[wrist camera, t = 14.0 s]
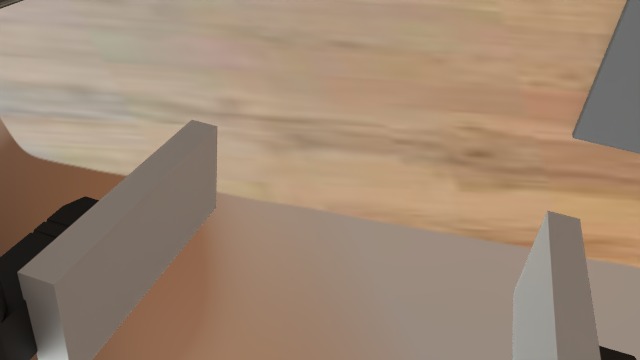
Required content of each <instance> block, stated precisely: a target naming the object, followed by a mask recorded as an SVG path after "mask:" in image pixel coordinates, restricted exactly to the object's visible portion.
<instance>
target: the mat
mask: <svg viewBox="0 0 640 360" xmlns="http://www.w3.org/2000/svg"><path fill="white" fill-rule="evenodd" d="M572 135H573V138H575V139H579V140H584V141H588V142H592V143H597V144H601V145H605V146H609V147H614V148H618V149H622V150H627V151H631V152H635V153H640V0H627V2H626V4H625V7H624V9H623V11H622V14H621V16H620V19H619V21H618V24H617V26H616V29H615V31H614V33H613V36H612V38H611V41H610V43H609V46H608V48H607V50H606V53H605V55H604V58H603V60H602V63H601V65H600V68H599V70H598V72H597V75H596V77H595V80H594V82H593V85H592V87H591V90H590V92H589V94H588V97H587V99H586V102H585V104H584V107H583V109H582V112H581V114H580V116H579V119H578V121H577V124H576V126H575V129H574V131H573V134H572Z"/></svg>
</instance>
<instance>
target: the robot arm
mask: <svg viewBox="0 0 640 360" xmlns="http://www.w3.org/2000/svg"><path fill="white" fill-rule="evenodd" d="M20 1H23V0H0V9H1V8H3V7H6V6H9V5H12V4H14V3H17V2H20ZM216 177H217V126H214V125H210V124H206V123H202V122H198V121H194V120H191V121H190V122H189V123H188V124H187V125H185V126H184V127H183V128H182V129H181V130H180V131H179V132H177V133H176V134H175V135H174V136H173V137H172V138H171V139H169V140H168V141H167V142H166V143H165V144H164V145H163V146H161V147H160V148H159V149H158V150H157V151H156V152H154V153H153V154H152V155H151V156H150V157H149V158H148V159H146V160H145V161H144V162H143V163H142V164H141V165H140V166H138V167H137V168H136V169H135V170H134V171H133V172H132V173H130V174H129V175H128V176H127V177H126V178H125V179H124V180H123V181H121V182H120V183H119V184H118V185H117V186H116V187H115V188H113V189H112V190H111V191H110V192H109V193H108V194H106V195H105V196H104V197H103V198H102V199H101V200H100V201H99V200H95V199H92V198H89V197H83V198H80V199H78V200H76V201H73V202H71V203H69V204H67V205H65V206H63V207H61V208H60V209H59V210H58V211H56V212H55V213H54V214H53V215H52V216H50V217H49V218H48V219H47V222H43V223H42V224H41V225H39V226H38V227H37V228H36V229H34V232H33V233H29V234H28V235H27V236H26V237H25V238H23V239H22V240H21V241H20V242H18V243H17V244H16V245H15V246H14V247H12V248H11V249H10V250H9V251H8V252H6V253H5V254H4V255H3V256H1V257H0V360H30V359H31V358H32V357H33V356H34V355H35V354H36V353H37V357H38V360H92V359H93V358H94V357H95V355H96V354H97V353H98V352H99V351H100V349H101V348H102V347H103V346H104V344H105V343H106V342H107V341H108V339H109V338H110V337H111V336H112V334H113V333H114V332H115V331H116V330H117V328H118V327H119V326H120V325H121V324H122V322H123V321H124V320H125V319H126V317H127V316H128V315H129V314H130V312H131V311H132V310H133V309H134V307H135V306H136V305H137V304H138V303H139V301H140V300H141V299H142V298H143V297H144V295H145V294H146V293H147V292H148V290H149V289H150V288H151V287H152V285H153V284H154V283H155V282H156V281H157V279H158V278H159V277H160V276H161V274H162V273H163V272H164V271H165V270H166V268H167V267H168V266H169V265H170V263H171V262H172V261H173V260H174V258H175V257H176V256H177V255H178V253H179V252H180V251H181V250H182V249H183V247H184V246H185V245H186V244H187V242H188V241H189V240H190V239H191V238H192V236H193V235H194V234H195V233H196V231H197V230H198V229H199V228H200V227H201V225H202V224H203V223H204V222H205V220H206V219H207V218H208V217H209V215H210V214H211V213H212V212H213V211H214V209H215V208H216ZM512 360H636V358H635V357H634V356H632V355H629V354H625V353H621V352H618V351H615V350H611V349H608V348H604V347H601V346H599V344H598V337H597V330H596V324H595V317H594V311H593V304H592V297H591V290H590V284H589V277H588V271H587V264H586V257H585V250H584V244H583V237H582V230H581V224H580V219H578V218H574V217H570V216H566V215H562V214H558V213H554V212H550V211H547V213H546V215H545V218H544V220H543V223H542V225H541V227H540V230H539V232H538V235H537V237H536V239H535V242H534V244H533V247H532V249H531V251H530V254H529V256H528V259H527V261H526V263H525V266H524V268H523V271H522V273H521V275H520V278H519V280H518V283H517V285H516V288H515V290H514V294H513V350H512Z"/></svg>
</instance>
